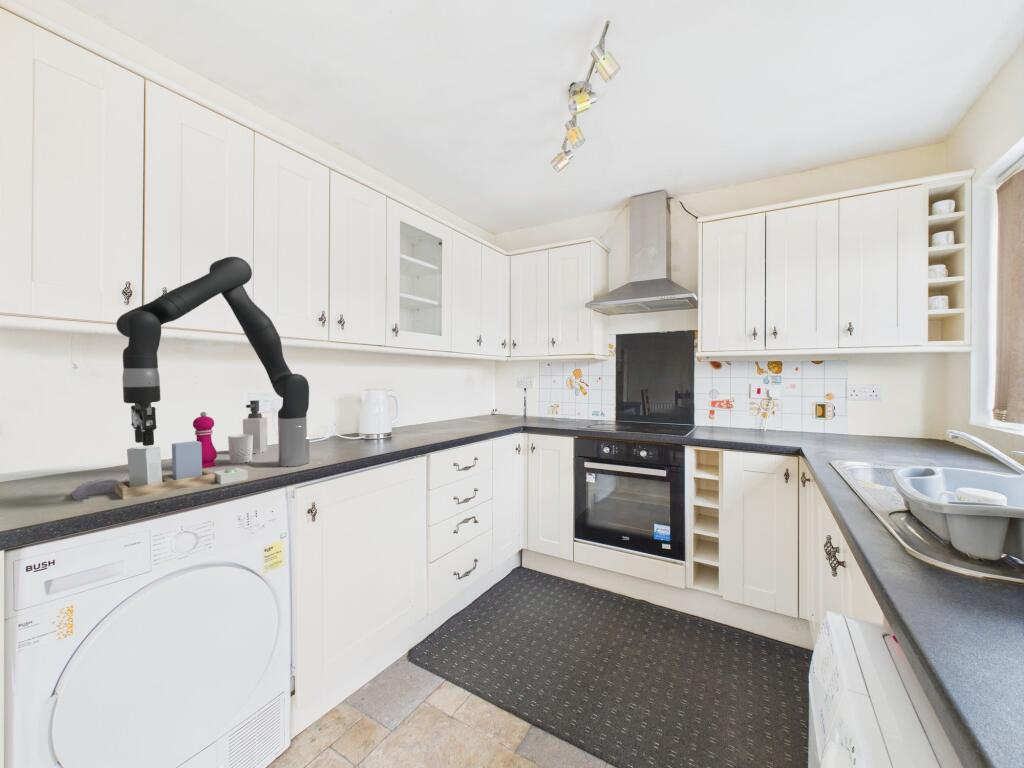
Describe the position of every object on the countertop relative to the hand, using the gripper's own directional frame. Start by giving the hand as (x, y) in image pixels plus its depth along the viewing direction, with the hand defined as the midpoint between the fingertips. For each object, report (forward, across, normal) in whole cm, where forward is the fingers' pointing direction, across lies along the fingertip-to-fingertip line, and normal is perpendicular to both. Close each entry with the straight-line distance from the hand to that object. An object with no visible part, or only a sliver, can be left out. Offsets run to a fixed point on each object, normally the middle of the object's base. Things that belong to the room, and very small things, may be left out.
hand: (144, 443), depth 112 cm
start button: (+13, -5, -18) cm, 23 cm away
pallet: (+14, 0, -4) cm, 15 cm away
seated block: (+13, 0, -9) cm, 16 cm away
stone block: (+14, +12, +8) cm, 21 cm away
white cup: (+15, +26, -32) cm, 44 cm away
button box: (+14, -5, -18) cm, 24 cm away
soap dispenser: (+15, +41, -42) cm, 61 cm away
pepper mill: (+15, +24, -20) cm, 34 cm away
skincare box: (+13, 0, 0) cm, 13 cm away
